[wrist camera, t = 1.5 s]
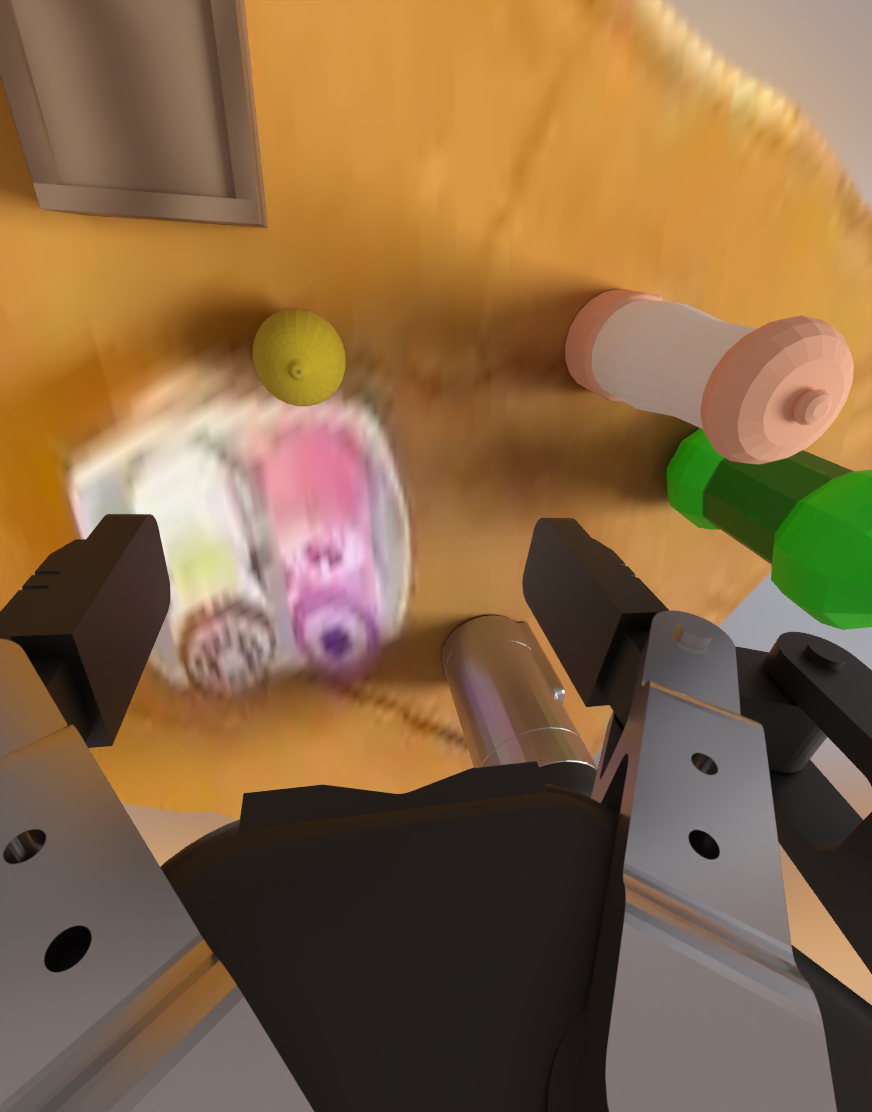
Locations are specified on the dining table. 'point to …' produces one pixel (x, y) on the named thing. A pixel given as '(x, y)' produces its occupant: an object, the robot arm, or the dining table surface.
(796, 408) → the salt shaker
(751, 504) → the plastic bottle
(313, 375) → the lemon
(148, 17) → the walnut box
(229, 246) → the dining table surface
